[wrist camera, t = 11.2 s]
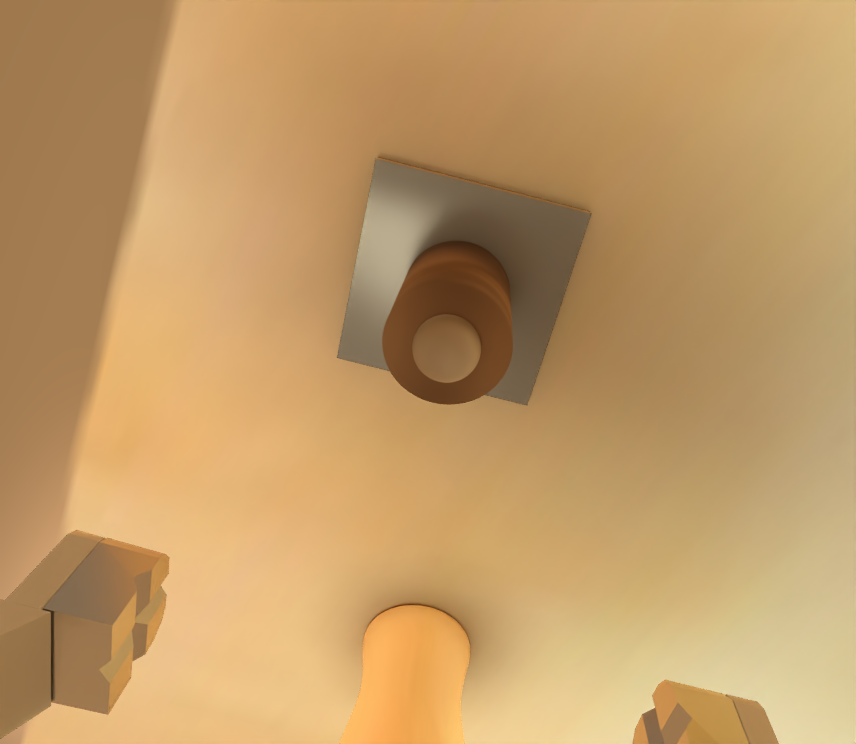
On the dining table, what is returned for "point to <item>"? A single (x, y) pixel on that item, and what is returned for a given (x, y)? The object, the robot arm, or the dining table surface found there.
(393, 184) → the coaster
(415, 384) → the pepper mill
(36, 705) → the robot arm
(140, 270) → the dining table surface
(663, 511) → the dining table surface
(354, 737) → the beer glass
